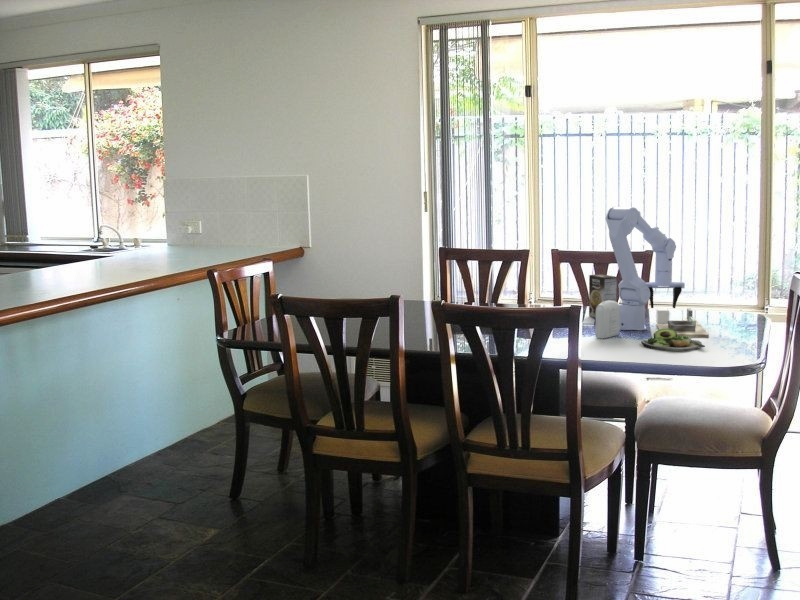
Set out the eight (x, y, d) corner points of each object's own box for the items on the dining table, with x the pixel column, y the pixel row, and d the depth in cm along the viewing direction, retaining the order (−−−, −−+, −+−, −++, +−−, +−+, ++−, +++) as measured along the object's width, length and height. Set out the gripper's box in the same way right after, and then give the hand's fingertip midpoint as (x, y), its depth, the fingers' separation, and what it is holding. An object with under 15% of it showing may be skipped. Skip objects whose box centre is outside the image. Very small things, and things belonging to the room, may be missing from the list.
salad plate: (719, 347, 277) (719, 333, 276) (685, 356, 267) (686, 341, 266) (667, 339, 292) (668, 325, 292) (634, 346, 282) (634, 332, 281)
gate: (692, 326, 305) (692, 315, 304) (686, 319, 318) (687, 308, 318) (696, 326, 305) (696, 315, 304) (690, 319, 318) (690, 308, 318)
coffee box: (588, 316, 336) (588, 274, 334) (601, 314, 339) (602, 273, 336) (603, 319, 328) (603, 277, 325) (616, 318, 330) (617, 276, 328)
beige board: (662, 337, 294) (662, 328, 294) (652, 320, 323) (653, 312, 323) (708, 337, 291) (708, 328, 291) (695, 321, 320) (695, 313, 320)
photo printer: (610, 333, 302) (610, 298, 300) (621, 335, 299) (621, 299, 297) (593, 338, 295) (593, 302, 293) (604, 339, 292) (604, 303, 290)
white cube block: (657, 324, 317) (657, 310, 316) (656, 322, 321) (656, 308, 320) (668, 324, 316) (669, 310, 316) (667, 322, 320) (667, 308, 320)
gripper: (683, 269, 318) (682, 305, 321) (642, 269, 321) (641, 305, 323) (685, 271, 312) (684, 309, 314) (643, 272, 314) (643, 309, 316)
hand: (663, 307), depth 318 cm, fingers open, 7 cm apart
